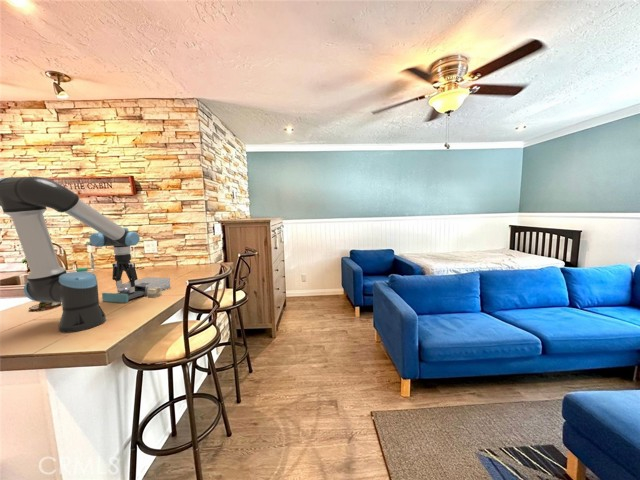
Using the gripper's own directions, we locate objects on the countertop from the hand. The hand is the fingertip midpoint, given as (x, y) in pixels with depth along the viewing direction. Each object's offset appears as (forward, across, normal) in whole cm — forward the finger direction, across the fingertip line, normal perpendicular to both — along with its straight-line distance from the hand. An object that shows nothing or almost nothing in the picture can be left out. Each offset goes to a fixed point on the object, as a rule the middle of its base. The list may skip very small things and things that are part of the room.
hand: (126, 291), depth 146 cm
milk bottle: (+4, +17, +10) cm, 20 cm away
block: (+4, -14, -6) cm, 16 cm away
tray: (+4, 0, -1) cm, 4 cm away
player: (+4, 0, -14) cm, 15 cm away
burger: (+5, +30, +20) cm, 36 cm away
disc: (-1, 0, 0) cm, 1 cm away
